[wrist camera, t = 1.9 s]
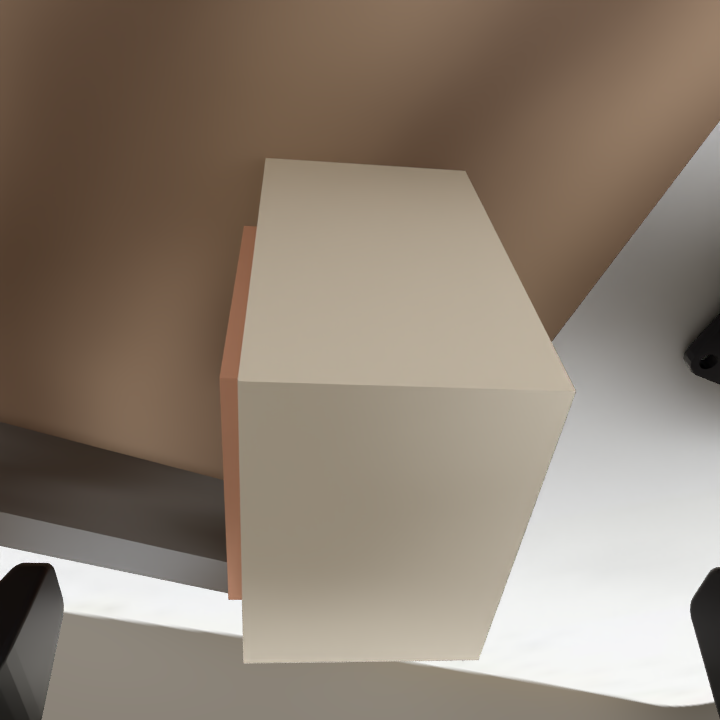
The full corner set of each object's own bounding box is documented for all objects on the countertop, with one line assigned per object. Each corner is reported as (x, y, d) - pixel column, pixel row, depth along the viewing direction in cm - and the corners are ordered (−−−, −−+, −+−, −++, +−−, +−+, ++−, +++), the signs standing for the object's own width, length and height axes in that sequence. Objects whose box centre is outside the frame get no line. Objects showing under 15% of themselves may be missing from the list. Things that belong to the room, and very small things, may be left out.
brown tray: (773, -24, 13) (926, 17, 10) (384, 517, 22) (397, 633, 19) (-845, -1102, 7) (-1984, -2048, 3) (-470, 293, 16) (-675, 412, 12)
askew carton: (465, 171, 14) (576, 390, 8) (422, 398, 17) (478, 659, 12) (250, 156, 13) (211, 380, 8) (251, 393, 17) (225, 663, 11)
